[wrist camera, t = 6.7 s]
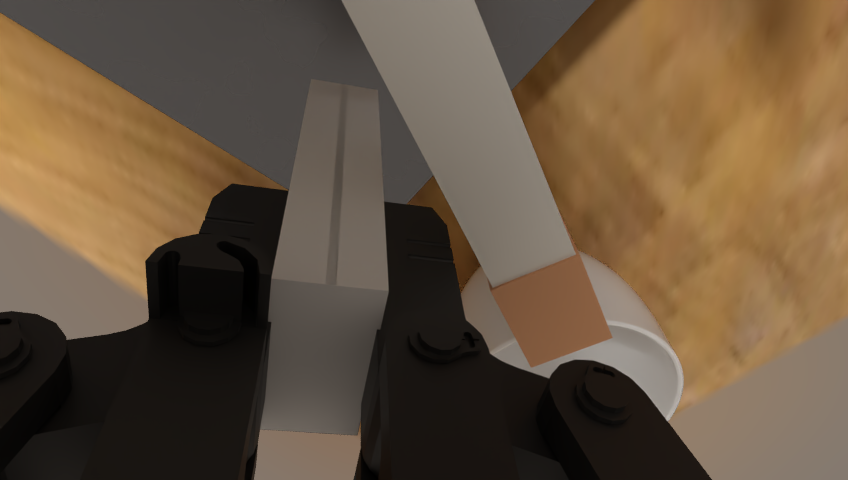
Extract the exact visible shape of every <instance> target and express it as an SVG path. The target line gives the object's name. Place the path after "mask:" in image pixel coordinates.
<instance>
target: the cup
mask: <svg viewBox="0 0 848 480" xmlns="http://www.w3.org/2000/svg"><path fill="white" fill-rule="evenodd" d="M578 252H579V254H580V256H581V259H582V261H583V264H584V267H585V269H586V272H587V274H588V277H589V279H590V282H591V284H592V287H593V289H594V292H595V294H596V297H597V299H598V302H599V304H600V307H601V310H602V312H603V315H604V317H605V320H606V322H607V325H608V327H609V330H610V332H611V335H612V337H613V338H611V339H608V340H606V341H603V342H600V343H597V344H595V345H592V346H589V347H587V348H584V349H581V350H578V351H576V352H573V353H570V354H567V355H565V356H562V357H559V358H557V359H554V360H551V361H548V362H546V363H543V364H540V365H537V366H535V367H532V368H531V367H530V365H529V363H528V361H527V359H526V357H525V355H524V353H523V351H522V350H521V348H520V346H519V344H518V342H517V340H516V338H515V336H514V335H513V333H512V331H511V329H510V327H509V325H508V323H507V321H506V320H505V318H504V316H503V314H502V312H501V310H500V308H499V306H498V304H497V303H496V301H495V299H494V297H493V295H492V293H491V291H490V288H489V284H488V280H487V276H486V274H485V272H484V270H483V268H482V266H481V265H480V266H479V268H478V269H477V270H476V271H475V272H474V273H473V275H472V276H471V277H470V279H469V280H468V282H467V283H466V285H465V287H464V288H463V290H462V292H461V298H462V303H463V308H464V313H465V318H466V321H468V322H469V323H470V324H471V325H473V326H474V327H475V328H476V329H477V330H478V331H479V332H480V333H481V334H482V336H483V338H484V340H485V342H486V344H487V346H488V348H489V352H490V354H492V355H493V356H495V357H496V358H498V359H499V360H501V361H503V362H505V363H508V364H510V365H512V366H515V367H517V368H520V369H523V370H526V371H529V372H532V373H535V374H538V375H541V376H544V377H547V378H550V376H551V374H552V373H553V372H554V371H555V370H556V368H557V367H558V366H559V365H560V364H562V363H565V362H569V361H572V360H575V359H577V360H594V361H597V362H600V363H603V364H606V365H609V366H612V367H614V368H615V369H617V370H619V371H620V372H622V373H624V374H625V375H627V376H628V377H630V378H631V379H632V380H633V381H634V382H635V383H636V384H637V385H638V386H639V387H640V388H641V389H642V390H643V391H644V392H645V393H646V394H647V395H648V396H649V398H650V399H651V400H652V402H653V403H654V404H655V406H656V407H657V408H658V410H659V411H660V412H661V414H662V415H663V416H664V417H665V419H666V420H667V421H669V420H670V418H671V417H672V415H673V414H674V412H675V410H676V408H677V407H678V404H679V402H680V399H681V396H682V392H683V384H684V378H683V370H682V366H681V364H680V361H679V359H678V357H677V355H676V353H675V351H674V350H673V348H672V346H671V344H670V342H669V341H668V339H667V337H666V335H665V334H664V332H663V330H662V328H661V327H660V325H659V323H658V322H657V320H656V319H655V317H654V316H653V314H652V313H651V311H650V310H649V308H648V307H647V305H646V304H645V303H644V302H643V300H642V299H641V298H640V296H639V295H638V294H637V293H636V292H635V290H634V289H633V288H632V287H631V286H630V285H629V284H628V283H627V282H626V281H625V280H624V279H623V278H622V277H620V276H619V275H618V274H617V273H616V272H614V271H613V270H612V269H611V268H609V267H608V266H606V265H605V264H603V263H602V262H600V261H599V260H597V259H595V258H594V257H592V256H590V255H588V254H586V253H584V252H582V251H580V250H578Z"/></svg>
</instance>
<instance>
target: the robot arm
mask: <svg viewBox="0 0 848 480" xmlns="http://www.w3.org/2000/svg"><path fill="white" fill-rule="evenodd" d="M453 260H454V259H453V254H452V249H451V248H450V239H449V234H448V230H447V225H446V224H445V223H444V222H443V220H442V219H441V218H440V217H439V216H438V214H437V213H436V212H435V211H434V210H433V208H430V207H423V206H415V205H407V204H400V203H392V202H384V193H383V175H382V156H381V138H380V119H379V101H378V90H375V89H369V88H363V87H356V86H350V85H345V84H338V83H332V82H326V81H320V80H314V79H311V82H310V87H309V92H308V97H307V102H306V107H305V112H304V117H303V122H302V127H301V132H300V137H299V142H298V147H297V152H296V157H295V162H294V167H293V172H292V177H291V182H290V187H289V191H285V190H277V189H269V188H262V187H254V186H246V185H239V184H231V185H229V186H228V187H227V188H225V189H224V190H223V191H221V192H220V193H219V194H217V195H216V196H215V197H213V198H212V201H211V204H210V206H209V209H208V211H207V214H206V216H205V221H203V224H202V226H201V229H200V231H199V234H195V235H190V236H186V237H181V238H176V239H174V240H172V241H170V242H168V243H166V244H164V245H162V246H160V247H158V248H157V249H156V250H155V251H154V252H153V253H152V254H151V255H150V257H149V258H148V259H147V260H146V261H145V263H146V278H147V294H148V308H149V320H148V322H146V323H144V324H142V325H139V326H137V327H134V328H131V329H129V330H126V331H122V332H117V333H112V334H108V335H101V336H93V337H85V338H78V339H71V340H66V336H65V335H64V333H63V332H62V331H61V329H60V328H59V327H58V325H57V324H56V323H54V322H53V321H50V320H48V319H46V318H44V317H42V316H40V315H38V314H31V313H22V312H14V311H10V312H1V313H0V480H254V474H255V468H256V460H257V447H258V437H259V432H260V429H262V430H278V431H295V432H308V433H309V432H310V433H325V434H341V435H342V434H343V435H358V430H359V426H360V421H361V450H360V454H359V459H358V464H357V467H356V472H355V476H354V480H712V479H711V478H710V477H709V475H708V474H707V473H706V471H705V470H704V469H703V467H702V466H701V465H700V463H699V462H698V461H697V459H696V458H695V457H694V456H693V454H692V453H691V452H690V450H689V449H688V448H687V446H686V445H685V444H684V443H683V441H682V440H681V439H680V437H679V436H678V435H677V433H676V432H675V431H674V429H673V428H672V427H671V425H670V424H669V423H668V421H667V420H666V419H665V417H664V416H663V415H662V414H661V412H660V411H659V410H658V408H657V407H656V406H655V404H654V403H653V402H652V400H651V399H650V398H649V396H648V395H647V394H646V393H645V392H644V391H643V390H642V389H641V388H640V387H639V386H638V385H637V384H636V383H635V382H634V381H633V380H632V379H631V378H630V377H628V376H627V375H625V374H624V373H622V372H620V371H619V370H617V369H615V368H614V367H612V366H609V365H606V364H603V363H600V362H597V361H594V360H577V359H575V360H572V361H569V362H565V363H562V364H560V365H559V366H558V367H557V368H556V370H555V371H554V372H553V373H552V374H551V376H550V378H547V377H544V376H541V375H538V374H535V373H532V372H529V371H526V370H523V369H520V368H517V367H515V366H512V365H510V364H508V363H505V362H503V361H501V360H499V359H498V358H496V357H495V356H493V355H492V354H490V352H489V348H488V346H487V344H486V342H485V340H484V338H483V336H482V334H481V333H480V332H479V331H478V330H477V329H476V328H475V327H474V326H473V325H471V324H470V323H469V322H468V321H466V318H465V313H464V308H463V303H462V298H461V293H460V288H459V284H458V279H457V274H456V269H455V264H454V263H453Z"/></svg>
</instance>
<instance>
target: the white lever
mask: <svg viewBox="0 0 848 480" xmlns="http://www.w3.org/2000/svg"><path fill="white" fill-rule="evenodd" d="M342 2H343V4H344V6H345V8H346V10H347V12H348V14H349V16H350V17H351V19H352V21H353V23H354V25H355V27H356V29H357V31H358V33H359V35H360V36H361V38H362V40H363V42H364V44H365V46H366V48H367V50H368V52H369V54H370V55H371V57H372V59H373V61H374V63H375V65H376V67H377V69H378V71H379V73H380V74H381V76H382V78H383V80H384V82H385V84H386V86H387V88H388V90H389V92H390V94H391V95H392V97H393V99H394V101H395V103H396V105H397V107H398V109H399V111H400V113H401V114H402V116H403V118H404V120H405V122H406V124H407V126H408V128H409V130H410V132H411V133H412V135H413V137H414V139H415V141H416V143H417V145H418V147H419V149H420V151H421V152H422V154H423V156H424V158H425V160H426V162H427V164H428V166H429V168H430V170H431V171H432V173H433V175H434V177H435V179H436V181H437V183H438V185H439V187H440V189H441V190H442V192H443V194H444V196H445V198H446V200H447V202H448V204H449V206H450V208H451V209H452V211H453V213H454V215H455V217H456V219H457V221H458V223H459V225H460V227H461V228H462V230H463V232H464V234H465V236H466V238H467V240H468V242H469V244H470V246H471V247H472V249H473V251H474V253H475V255H476V257H477V259H478V261H479V263H480V265H481V266H482V268H483V270H484V272H485V274H486V276H487V280H488V284H489V288H490V291H491V293H492V295H493V297H494V299H495V301H496V303H497V304H498V306H499V308H500V310H501V312H502V314H503V316H504V318H505V320H506V321H507V323H508V325H509V327H510V329H511V331H512V333H513V335H514V336H515V338H516V340H517V342H518V344H519V346H520V348H521V350H522V351H523V353H524V355H525V357H526V359H527V361H528V363H529V365H530V367H531V368H532V367H535V366H537V365H540V364H543V363H546V362H548V361H551V360H554V359H557V358H559V357H562V356H565V355H567V354H570V353H573V352H576V351H578V350H581V349H584V348H587V347H589V346H592V345H595V344H597V343H600V342H603V341H606V340H608V339H611V338H613V337H612V335H611V332H610V330H609V327H608V325H607V322H606V320H605V317H604V315H603V312H602V310H601V307H600V304H599V302H598V299H597V297H596V294H595V292H594V289H593V287H592V284H591V282H590V279H589V277H588V274H587V272H586V269H585V267H584V264H583V261H582V259H581V256H580V254H579V252H578V250H577V248H576V246H575V244H574V241H573V239H572V237H571V235H570V233H569V231H568V229H567V227H566V225H565V223H564V220H563V218H562V216H561V214H560V212H559V210H558V208H557V206H556V203H555V201H554V198H553V196H552V193H551V191H550V188H549V186H548V183H547V181H546V178H545V176H544V173H543V171H542V168H541V166H540V163H539V161H538V158H537V156H536V153H535V151H534V148H533V146H532V143H531V141H530V138H529V136H528V133H527V131H526V128H525V126H524V123H523V121H522V118H521V116H520V113H519V111H518V108H517V106H516V103H515V101H514V98H513V96H512V93H511V91H510V88H509V86H508V83H507V81H506V78H505V76H504V73H503V71H502V68H501V66H500V63H499V61H498V58H497V56H496V53H495V51H494V48H493V46H492V43H491V41H490V38H489V35H488V33H487V30H486V28H485V25H484V23H483V20H482V18H481V15H480V13H479V10H478V8H477V5H476V3H475V0H342Z"/></svg>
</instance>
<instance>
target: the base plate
mask: <svg viewBox="0 0 848 480" xmlns="http://www.w3.org/2000/svg"><path fill="white" fill-rule="evenodd" d="M594 1H595V0H475V3H476V5H477V8H478V10H479V13H480V15H481V18H482V20H483V23H484V25H485V28H486V30H487V33H488V35H489V38H490V41H491V43H492V46H493V48H494V51H495V53H496V56H497V58H498V61H499V63H500V66H501V68H502V71H503V73H504V76H505V78H506V81H507V83H508V86H509V88H510V91H512V89H513V88H514V87H515V86H516V85H517V84H518V83H519V82H520V81H521V80H522V79H523V78H524V76H525V75H526V74H527V73H528V72H529V71H530V70H531V69H532V68H533V67H534V66H535V65H536V64H537V62H538V61H539V60H540V59H541V58H542V57H543V56H544V55H545V54H546V53H547V52H548V51H549V49H550V48H551V47H552V46H553V45H554V44H555V43H556V42H557V41H558V40H559V39H560V38H561V36H562V35H563V34H564V33H565V32H566V31H567V30H568V29H569V28H570V27H571V26H572V25H573V24H574V22H575V21H576V20H577V19H578V18H579V17H580V16H581V15H582V14H583V13H584V12H585V11H586V9H587V8H588V7H589V6H590V5H591V4H592V3H593V2H594ZM0 13H2V14H4V15H5V16H7V17H9V18H10V19H12V20H13V21H15V22H17V23H18V24H20V25H22V26H23V27H25V28H26V29H28V30H30V31H31V32H33V33H35V34H36V35H38V36H39V37H41V38H43V39H44V40H46V41H48V42H49V43H51V44H52V45H54V46H56V47H57V48H59V49H61V50H62V51H64V52H65V53H67V54H69V55H70V56H72V57H74V58H75V59H77V60H78V61H80V62H82V63H83V64H85V65H87V66H88V67H90V68H91V69H93V70H95V71H96V72H98V73H100V74H101V75H103V76H104V77H106V78H108V79H109V80H111V81H113V82H114V83H116V84H117V85H119V86H121V87H122V88H124V89H126V90H127V91H129V92H130V93H132V94H134V95H135V96H137V97H139V98H140V99H142V100H143V101H145V102H147V103H148V104H150V105H151V106H153V107H155V108H156V109H158V110H160V111H161V112H163V113H164V114H166V115H168V116H169V117H171V118H173V119H174V120H176V121H177V122H179V123H181V124H182V125H184V126H186V127H187V128H189V129H190V130H192V131H194V132H195V133H197V134H199V135H200V136H202V137H203V138H205V139H207V140H208V141H210V142H212V143H213V144H215V145H216V146H218V147H220V148H221V149H223V150H225V151H226V152H228V153H229V154H231V155H233V156H234V157H236V158H238V159H239V160H241V161H242V162H244V163H246V164H247V165H249V166H251V167H252V168H254V169H255V170H257V171H259V172H260V173H262V174H264V175H265V176H267V177H268V178H270V179H272V180H273V181H275V182H277V183H278V184H280V185H281V186H283V187H285V188H286V189H288V190H289V187H290V182H291V177H292V172H293V167H294V162H295V157H296V152H297V147H298V142H299V137H300V132H301V127H302V122H303V117H304V112H305V107H306V102H307V97H308V92H309V87H310V82H311V79H314V80H320V81H326V82H332V83H338V84H345V85H350V86H356V87H363V88H369V89H375V90H378V101H379V119H380V138H381V156H382V175H383V193H384V202H392V203H400V204H407V203H408V202H409V201H410V200H411V199H412V198H413V196H414V195H415V194H416V193H417V192H418V191H419V190H420V189H421V188H422V187H423V186H424V185H425V183H426V182H427V181H428V180H429V179H430V178H431V177H432V176H433V173H432V171H431V170H430V168H429V166H428V164H427V162H426V160H425V158H424V156H423V154H422V152H421V151H420V149H419V147H418V145H417V143H416V141H415V139H414V137H413V135H412V133H411V132H410V130H409V128H408V126H407V124H406V122H405V120H404V118H403V116H402V114H401V113H400V111H399V109H398V107H397V105H396V103H395V101H394V99H393V97H392V95H391V94H390V92H389V90H388V88H387V86H386V84H385V82H384V80H383V78H382V76H381V74H380V73H379V71H378V69H377V67H376V65H375V63H374V61H373V59H372V57H371V55H370V54H369V52H368V50H367V48H366V46H365V44H364V42H363V40H362V38H361V36H360V35H359V33H358V31H357V29H356V27H355V25H354V23H353V21H352V19H351V17H350V16H349V14H348V12H347V10H346V8H345V6H344V4H343V2H342V0H0Z"/></svg>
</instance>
